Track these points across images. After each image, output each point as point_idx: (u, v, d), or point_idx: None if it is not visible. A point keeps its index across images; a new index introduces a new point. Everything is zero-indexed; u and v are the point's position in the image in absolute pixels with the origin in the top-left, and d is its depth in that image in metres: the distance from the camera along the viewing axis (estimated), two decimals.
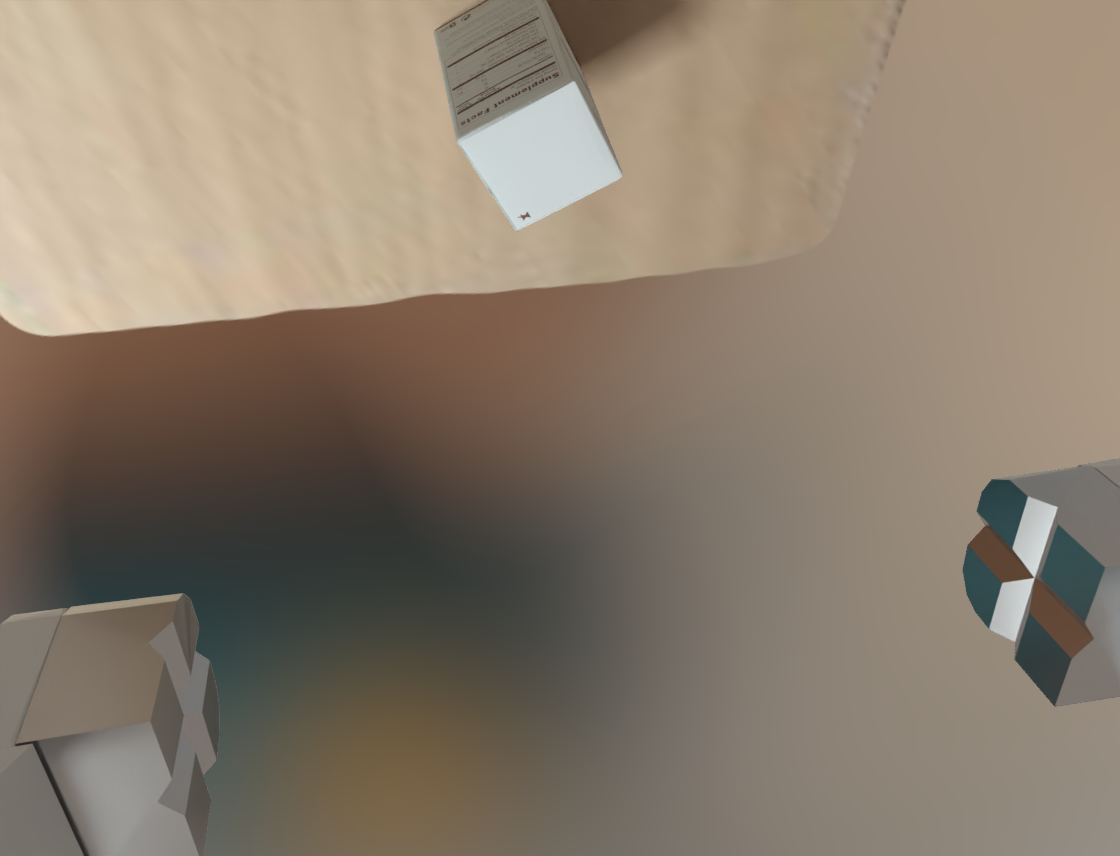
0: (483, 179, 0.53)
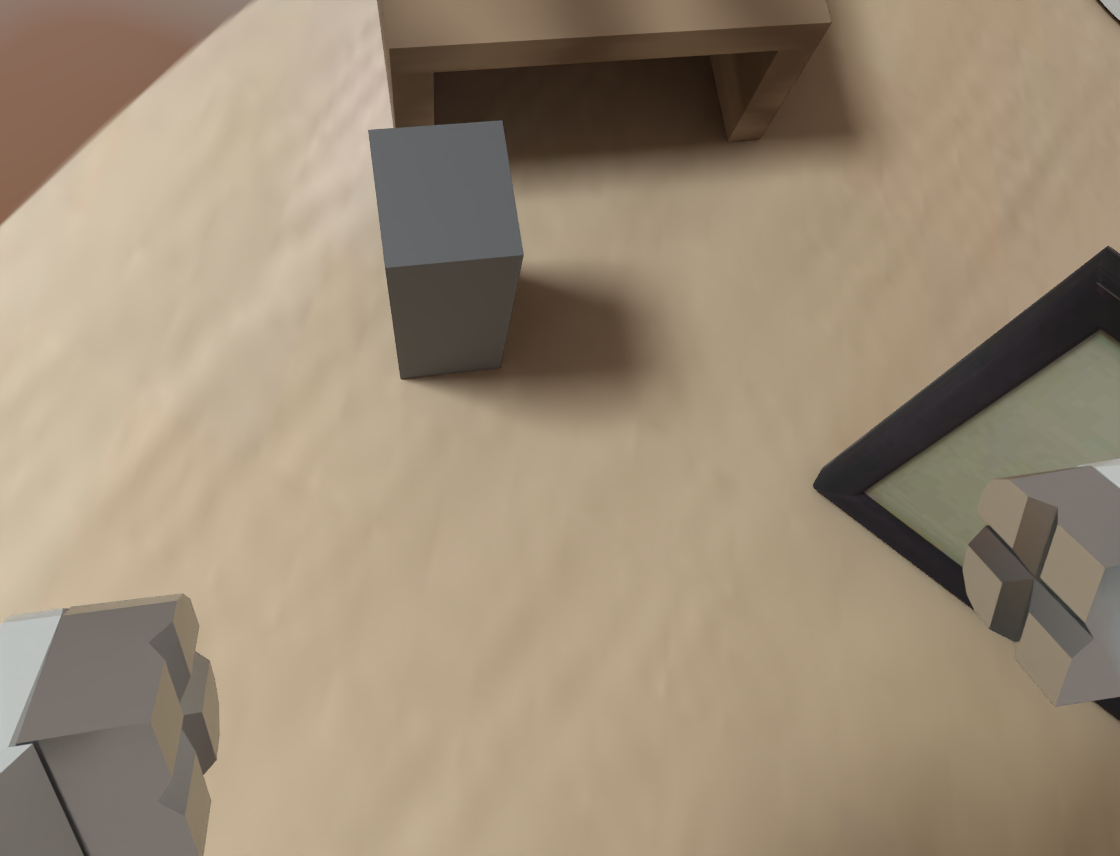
0: None
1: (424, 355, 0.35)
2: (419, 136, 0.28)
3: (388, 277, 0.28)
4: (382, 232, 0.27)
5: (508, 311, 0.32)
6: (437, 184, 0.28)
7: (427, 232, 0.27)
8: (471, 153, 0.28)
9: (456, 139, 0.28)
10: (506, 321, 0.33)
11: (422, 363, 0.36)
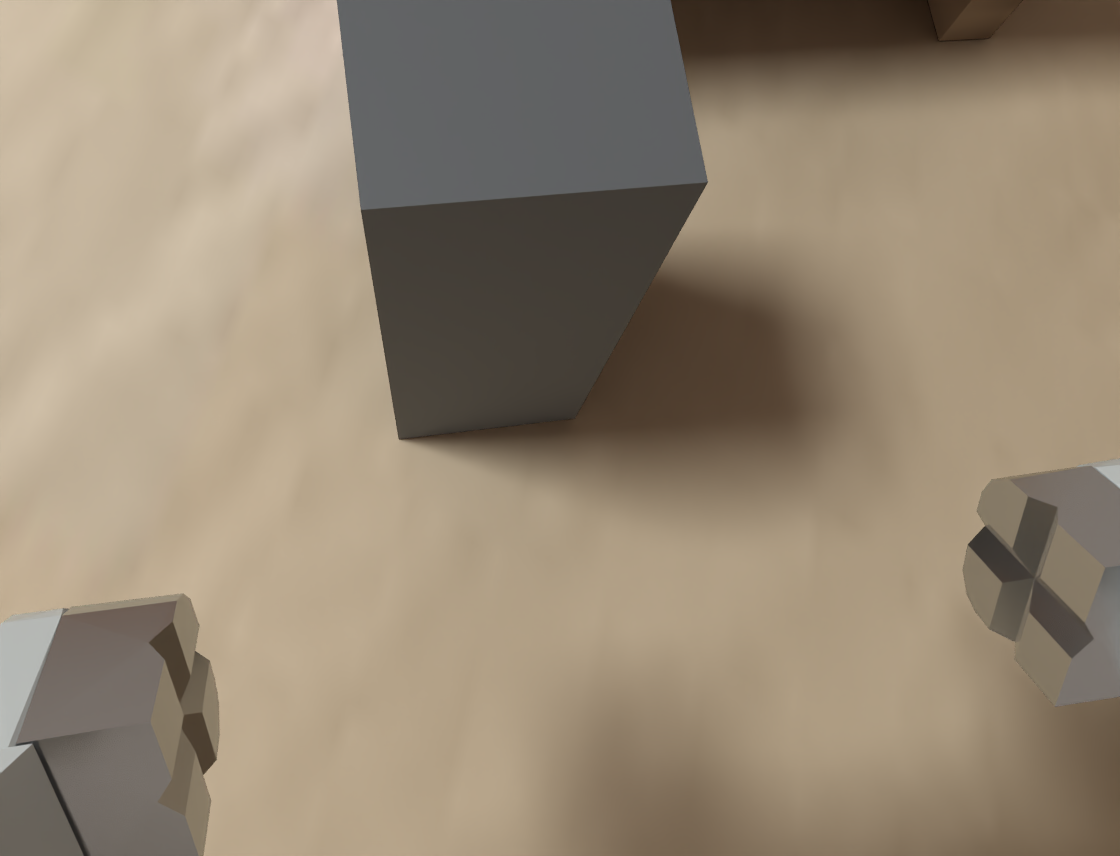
0: None
1: (444, 403, 0.19)
2: None
3: (370, 237, 0.11)
4: (355, 120, 0.11)
5: (622, 321, 0.15)
6: (491, 9, 0.11)
7: (467, 122, 0.11)
8: None
9: None
10: (612, 340, 0.16)
11: (439, 415, 0.20)
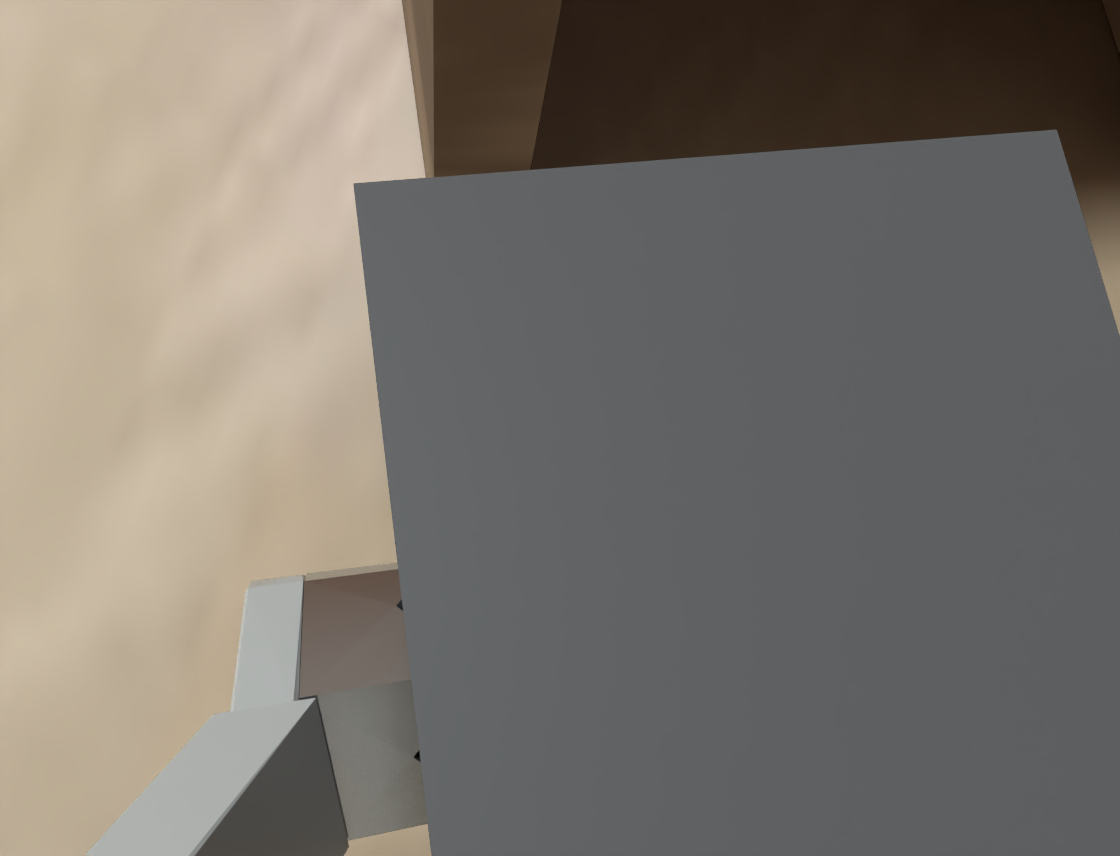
0: None
1: None
2: (645, 217, 0.05)
3: None
4: None
5: None
6: (762, 511, 0.05)
7: (728, 845, 0.04)
8: (928, 313, 0.05)
9: (841, 234, 0.05)
10: None
11: None
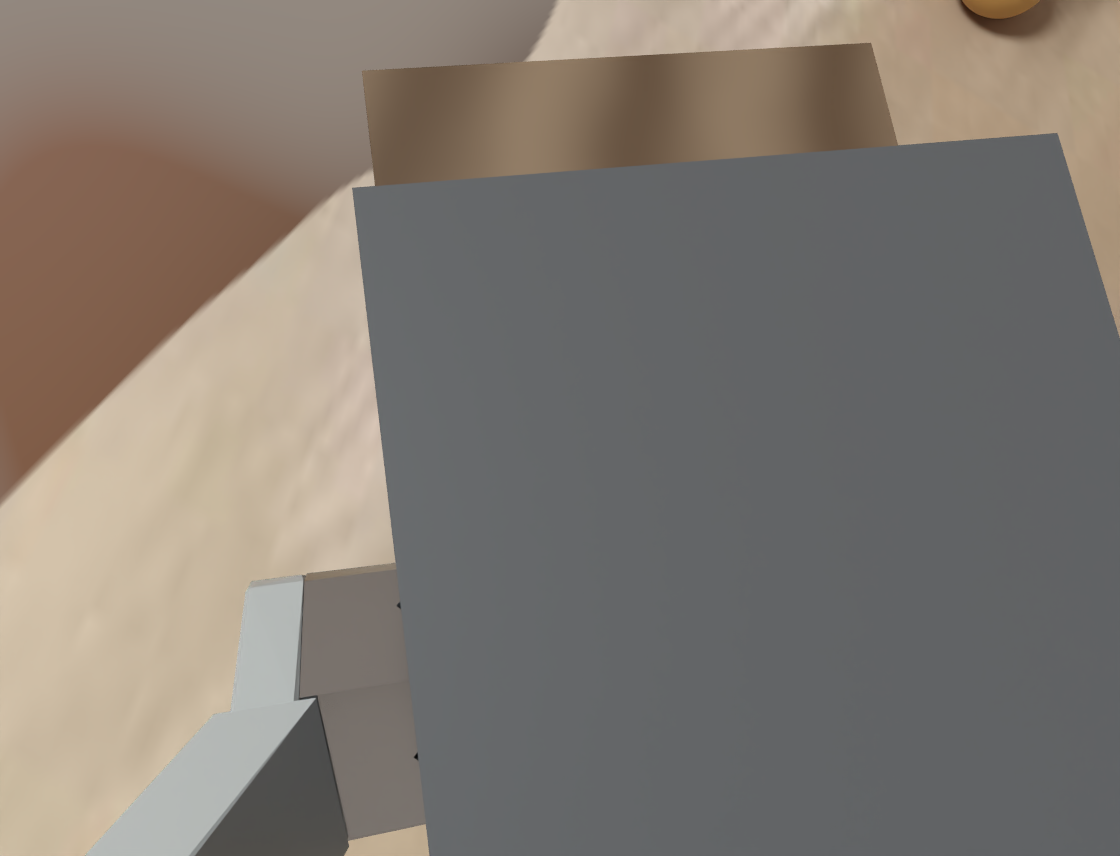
0: None
1: None
2: (643, 220, 0.05)
3: None
4: None
5: None
6: (762, 515, 0.05)
7: (726, 853, 0.04)
8: (928, 317, 0.05)
9: (841, 238, 0.05)
10: None
11: None
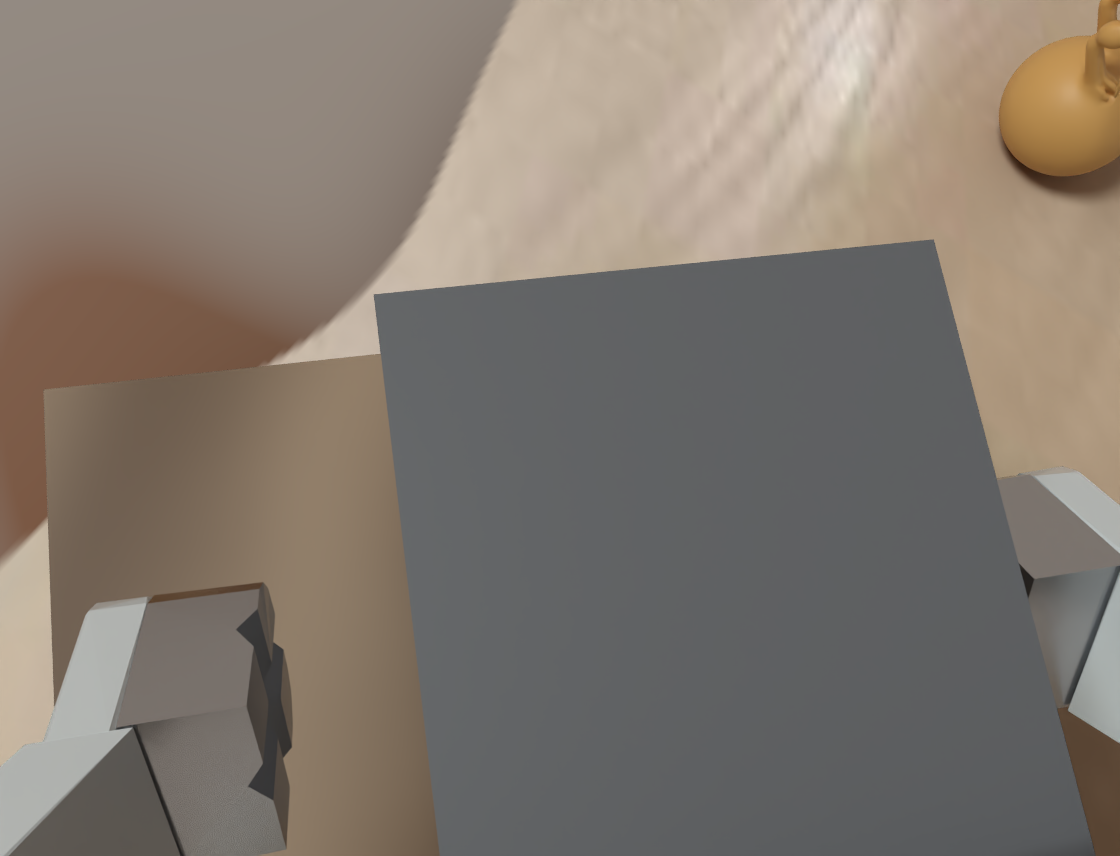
0: None
1: None
2: (600, 316, 0.06)
3: None
4: (443, 819, 0.06)
5: None
6: (689, 549, 0.06)
7: (656, 802, 0.06)
8: (824, 390, 0.06)
9: (756, 328, 0.06)
10: None
11: None
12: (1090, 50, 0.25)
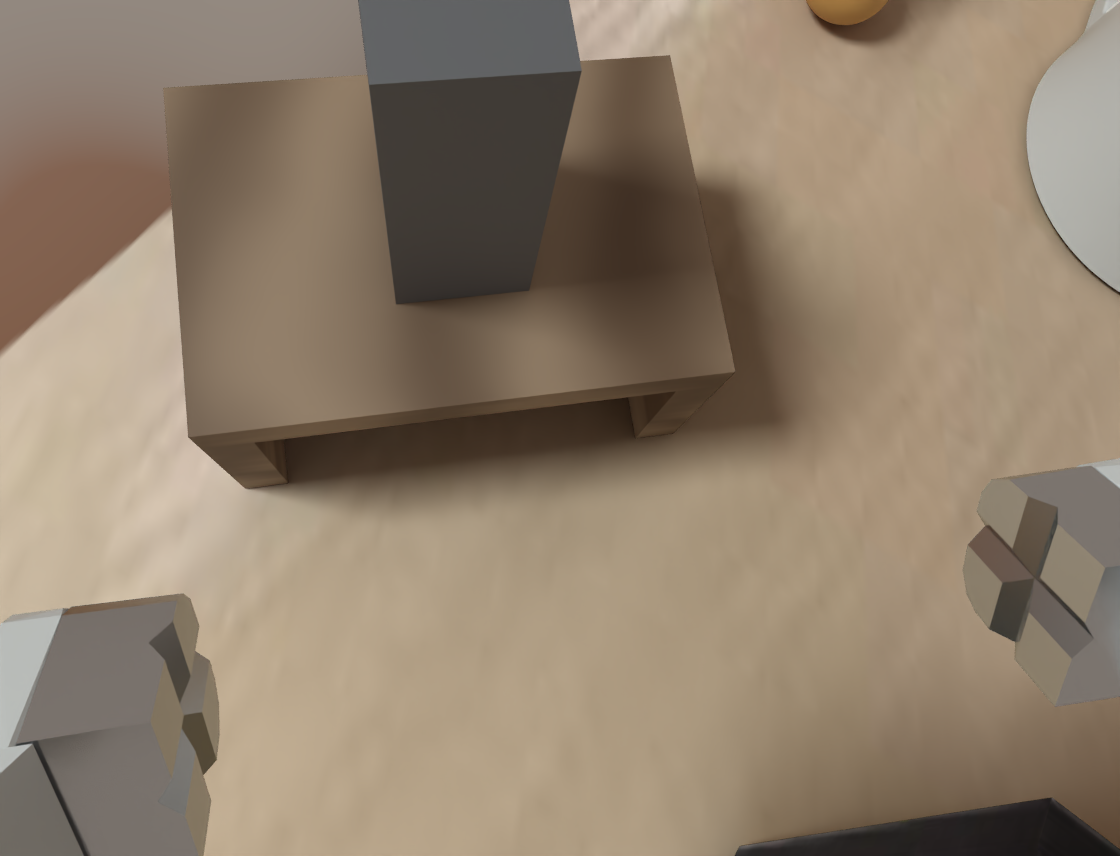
0: None
1: (428, 265, 0.26)
2: None
3: (374, 106, 0.18)
4: (365, 32, 0.18)
5: (548, 188, 0.22)
6: None
7: (433, 33, 0.18)
8: None
9: None
10: (544, 207, 0.23)
11: (425, 278, 0.26)
12: None
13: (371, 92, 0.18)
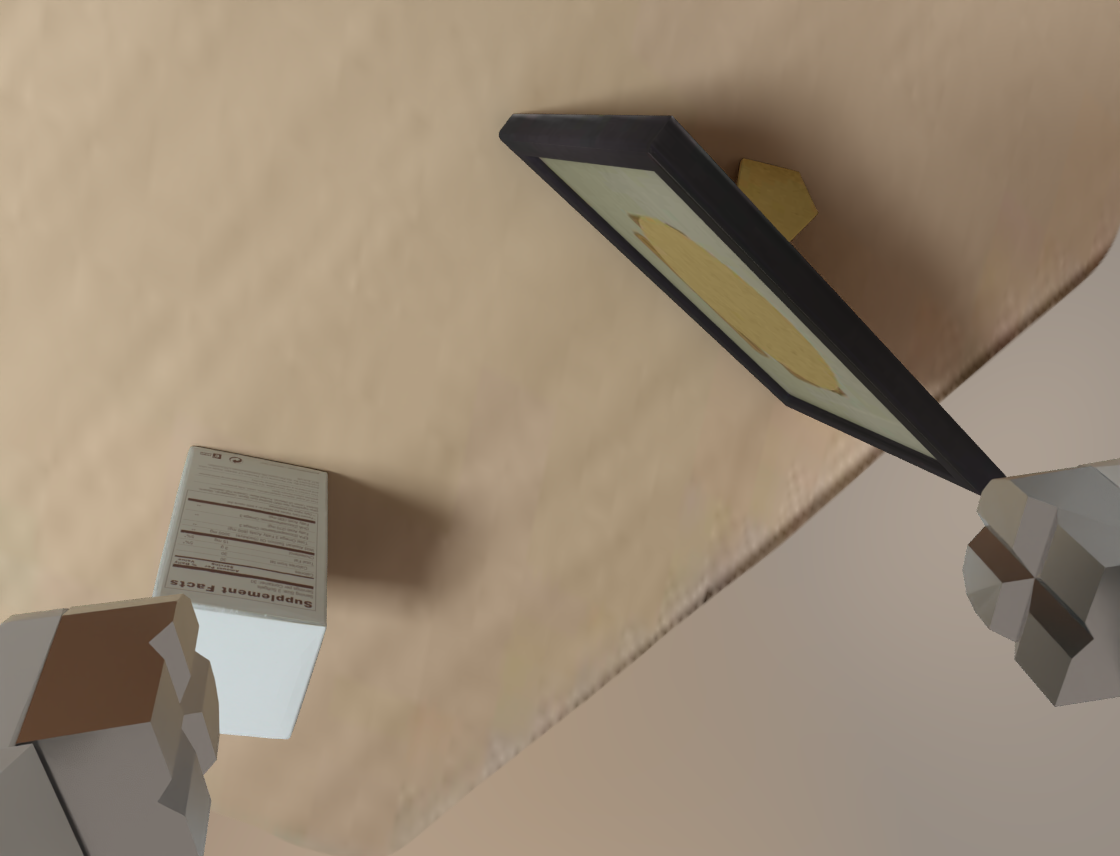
0: None
1: None
2: None
3: None
4: None
5: None
6: None
7: None
8: None
9: None
10: None
11: None
12: None
13: None
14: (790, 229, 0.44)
